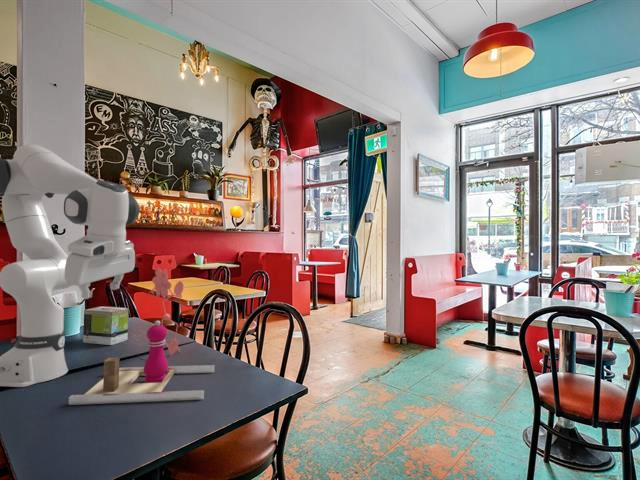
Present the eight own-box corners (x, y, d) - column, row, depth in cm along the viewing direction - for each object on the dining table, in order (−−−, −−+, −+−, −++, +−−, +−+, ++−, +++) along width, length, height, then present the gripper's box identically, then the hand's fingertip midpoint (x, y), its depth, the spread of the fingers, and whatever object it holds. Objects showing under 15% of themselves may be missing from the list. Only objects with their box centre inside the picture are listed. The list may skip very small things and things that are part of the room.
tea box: (128, 339, 156) (129, 307, 156) (110, 346, 146) (111, 311, 147) (101, 336, 160) (102, 305, 160) (81, 342, 150) (83, 309, 150)
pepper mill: (158, 387, 108) (160, 324, 108) (138, 384, 109) (140, 322, 109) (172, 378, 115) (174, 319, 115) (153, 376, 116) (155, 317, 116)
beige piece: (81, 401, 97) (82, 364, 97) (111, 375, 116) (112, 344, 116) (156, 398, 100) (157, 362, 100) (173, 373, 119) (174, 343, 119)
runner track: (68, 404, 95) (68, 396, 95) (105, 374, 117) (105, 367, 117) (203, 399, 101) (203, 391, 101) (214, 371, 122) (214, 365, 122)
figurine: (160, 343, 152) (160, 265, 152) (193, 356, 137) (194, 269, 136) (123, 352, 140) (124, 267, 139) (156, 368, 125) (157, 272, 124)
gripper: (124, 237, 101) (119, 282, 103) (61, 245, 81) (57, 301, 83) (143, 241, 100) (138, 286, 102) (84, 251, 80) (79, 306, 82)
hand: (101, 293), depth 93 cm, fingers open, 8 cm apart
